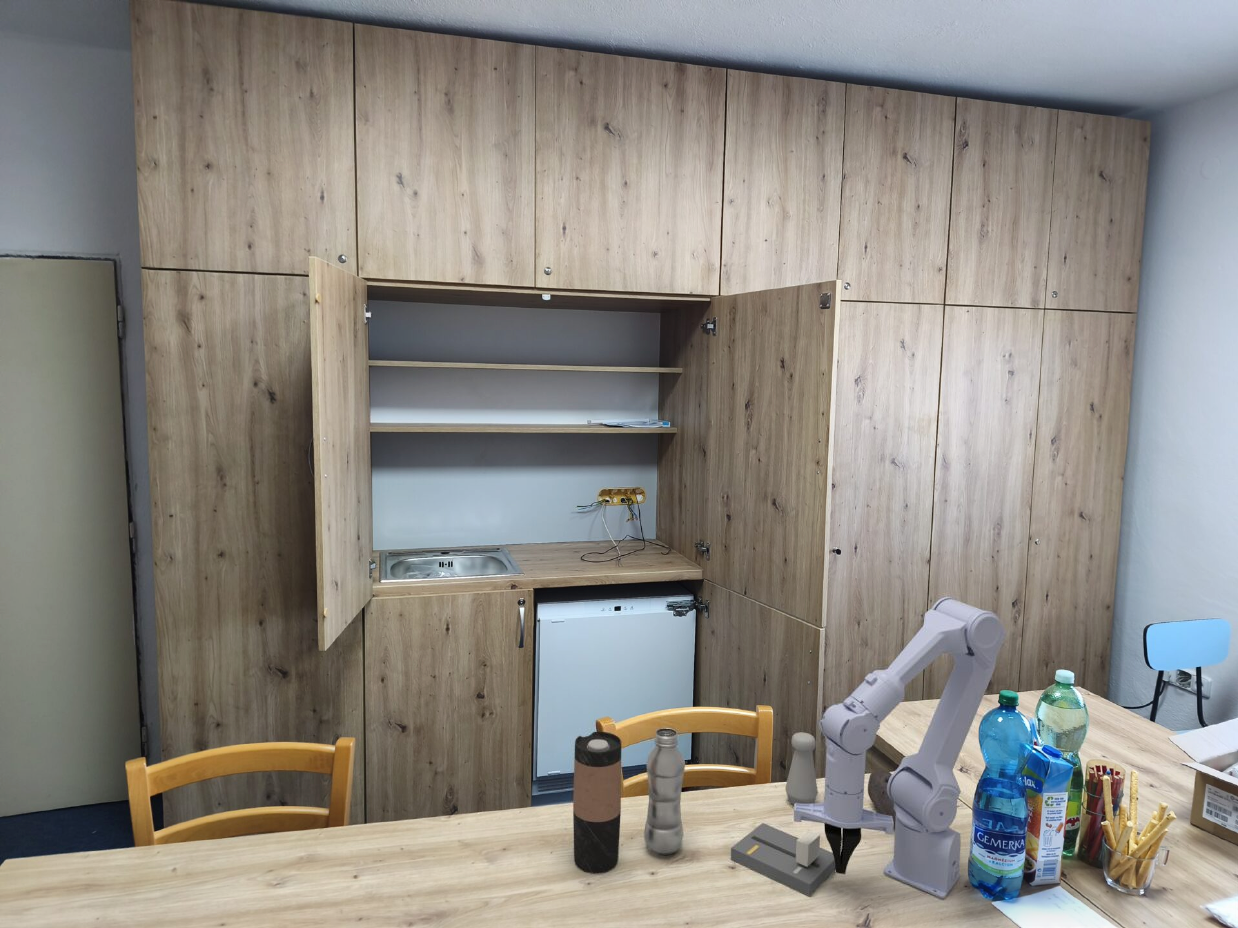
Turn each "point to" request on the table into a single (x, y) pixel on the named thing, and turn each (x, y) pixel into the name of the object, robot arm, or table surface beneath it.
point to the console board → (782, 859)
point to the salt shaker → (802, 771)
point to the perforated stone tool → (881, 793)
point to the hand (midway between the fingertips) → (840, 869)
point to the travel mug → (597, 801)
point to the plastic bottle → (664, 794)
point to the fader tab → (807, 848)
